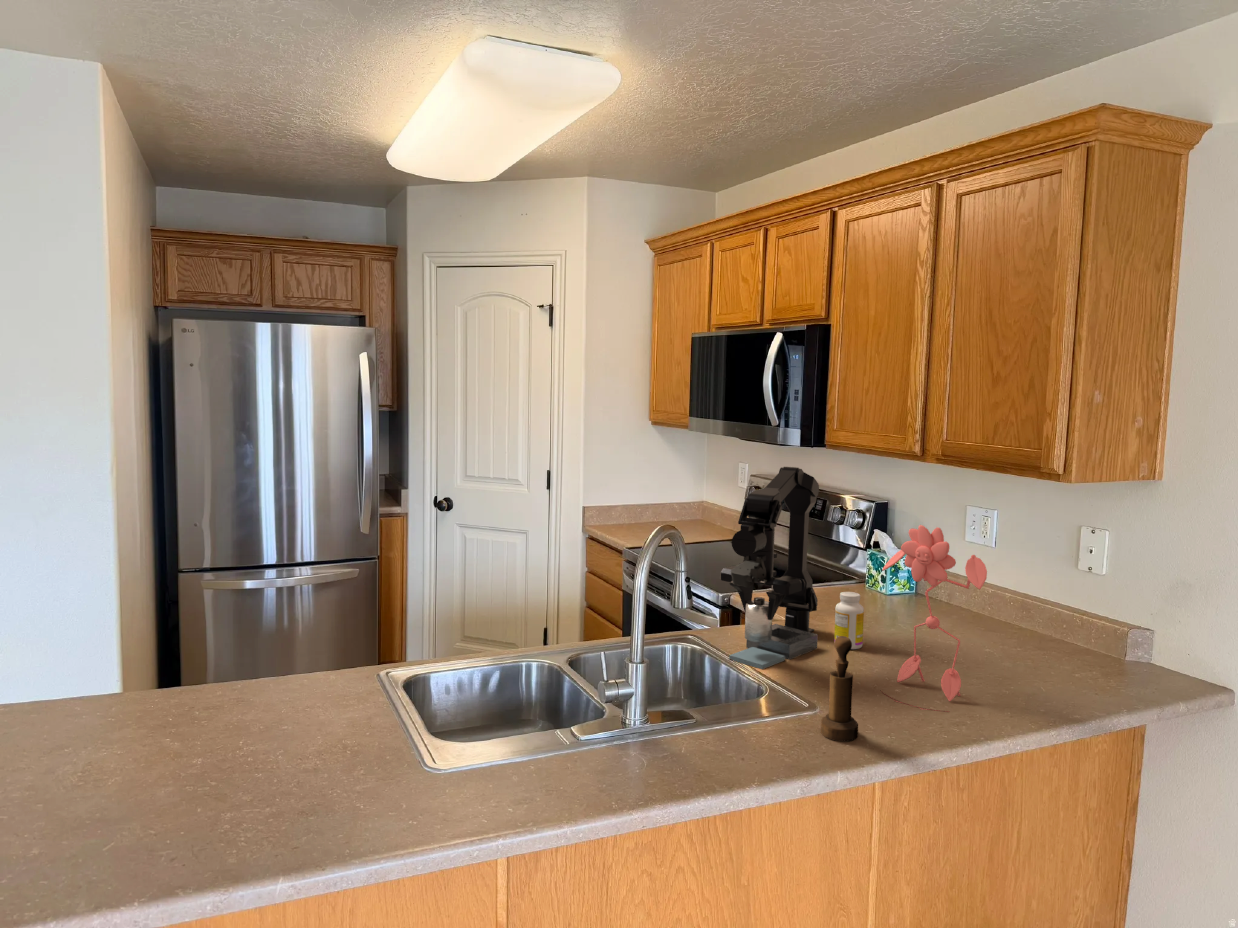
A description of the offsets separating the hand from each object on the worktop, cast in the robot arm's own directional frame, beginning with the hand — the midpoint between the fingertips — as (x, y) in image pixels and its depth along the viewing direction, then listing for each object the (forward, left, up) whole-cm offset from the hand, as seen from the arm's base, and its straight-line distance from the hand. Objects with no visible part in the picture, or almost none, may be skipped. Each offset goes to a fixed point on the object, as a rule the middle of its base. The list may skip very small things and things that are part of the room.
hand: (758, 616), depth 191 cm
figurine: (-7, +35, -10) cm, 37 cm away
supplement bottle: (-25, +9, -10) cm, 28 cm away
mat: (0, 0, -10) cm, 10 cm away
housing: (-11, -1, -10) cm, 15 cm away
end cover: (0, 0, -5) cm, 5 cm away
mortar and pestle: (+23, +34, -10) cm, 42 cm away
